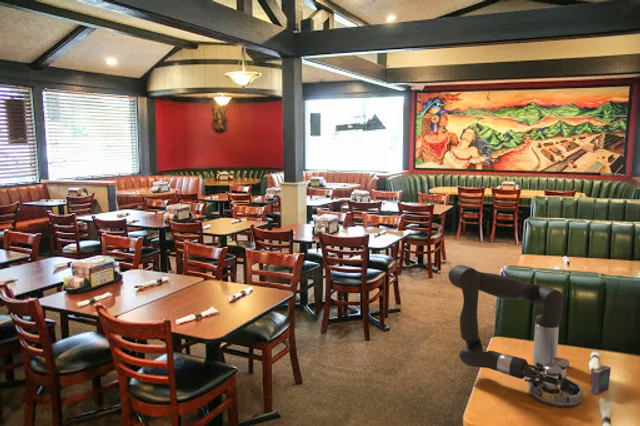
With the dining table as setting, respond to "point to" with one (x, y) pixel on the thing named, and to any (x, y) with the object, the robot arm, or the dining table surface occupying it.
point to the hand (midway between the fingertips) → (559, 379)
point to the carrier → (558, 389)
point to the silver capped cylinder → (553, 372)
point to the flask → (601, 379)
